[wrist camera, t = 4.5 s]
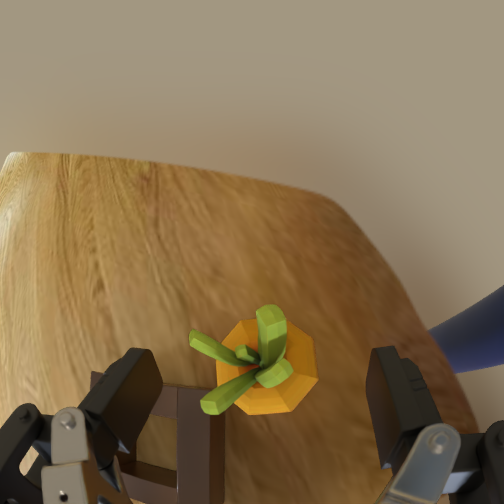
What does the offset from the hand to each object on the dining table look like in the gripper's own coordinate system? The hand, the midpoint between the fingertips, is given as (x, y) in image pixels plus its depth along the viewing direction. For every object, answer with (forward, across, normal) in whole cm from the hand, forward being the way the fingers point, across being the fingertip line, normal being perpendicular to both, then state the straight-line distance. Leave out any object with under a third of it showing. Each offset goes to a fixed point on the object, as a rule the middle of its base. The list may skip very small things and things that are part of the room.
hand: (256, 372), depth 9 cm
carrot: (+10, 0, +9) cm, 13 cm away
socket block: (+5, +10, +14) cm, 18 cm away
